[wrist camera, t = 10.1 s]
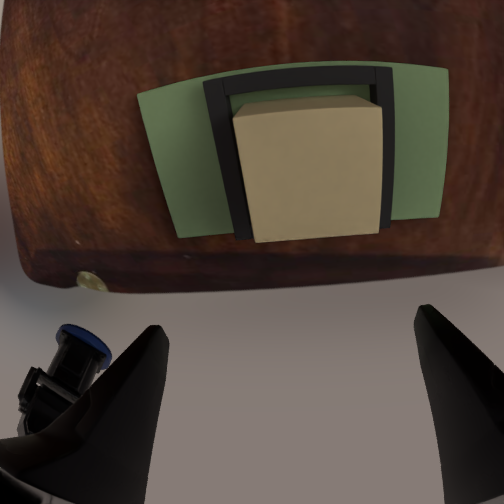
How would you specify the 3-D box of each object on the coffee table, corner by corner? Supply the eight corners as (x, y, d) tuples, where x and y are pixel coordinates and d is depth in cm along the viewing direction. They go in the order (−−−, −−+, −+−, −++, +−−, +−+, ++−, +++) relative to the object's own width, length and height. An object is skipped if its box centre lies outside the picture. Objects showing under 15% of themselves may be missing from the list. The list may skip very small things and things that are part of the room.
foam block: (358, 193, 17) (378, 233, 13) (260, 201, 18) (254, 243, 14) (355, 94, 13) (382, 107, 10) (243, 103, 14) (231, 117, 11)
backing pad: (181, 230, 21) (172, 249, 19) (143, 92, 15) (126, 97, 13) (433, 210, 18) (446, 227, 16) (440, 67, 12) (459, 71, 10)
